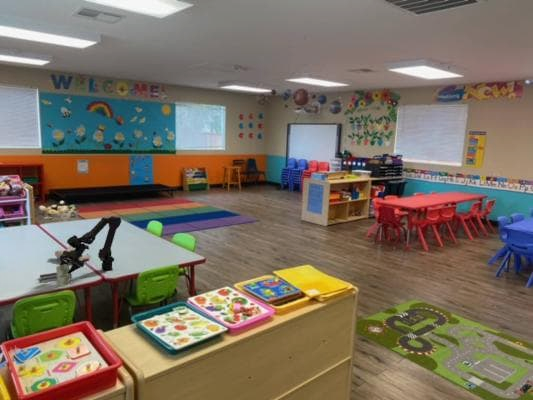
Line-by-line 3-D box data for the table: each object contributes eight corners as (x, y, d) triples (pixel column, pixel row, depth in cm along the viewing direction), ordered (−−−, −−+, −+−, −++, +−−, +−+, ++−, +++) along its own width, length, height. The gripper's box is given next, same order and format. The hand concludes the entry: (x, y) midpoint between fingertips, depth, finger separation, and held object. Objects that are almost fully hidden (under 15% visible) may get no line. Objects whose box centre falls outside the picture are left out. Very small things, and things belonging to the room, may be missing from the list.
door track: (69, 273, 275) (69, 269, 274) (72, 277, 267) (71, 274, 266) (39, 277, 264) (39, 274, 264) (41, 282, 256) (41, 279, 256)
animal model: (72, 234, 309) (53, 240, 296) (93, 252, 301) (74, 258, 287) (69, 248, 315) (50, 254, 301) (90, 265, 306) (72, 272, 292)
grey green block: (65, 282, 259) (65, 264, 257) (69, 283, 257) (68, 265, 255) (57, 285, 254) (56, 266, 251) (61, 286, 252) (60, 268, 250)
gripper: (61, 242, 260) (45, 263, 253) (79, 248, 252) (64, 269, 244) (72, 251, 269) (57, 271, 261) (90, 256, 260) (76, 277, 252)
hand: (63, 272), depth 254 cm, fingers open, 9 cm apart
